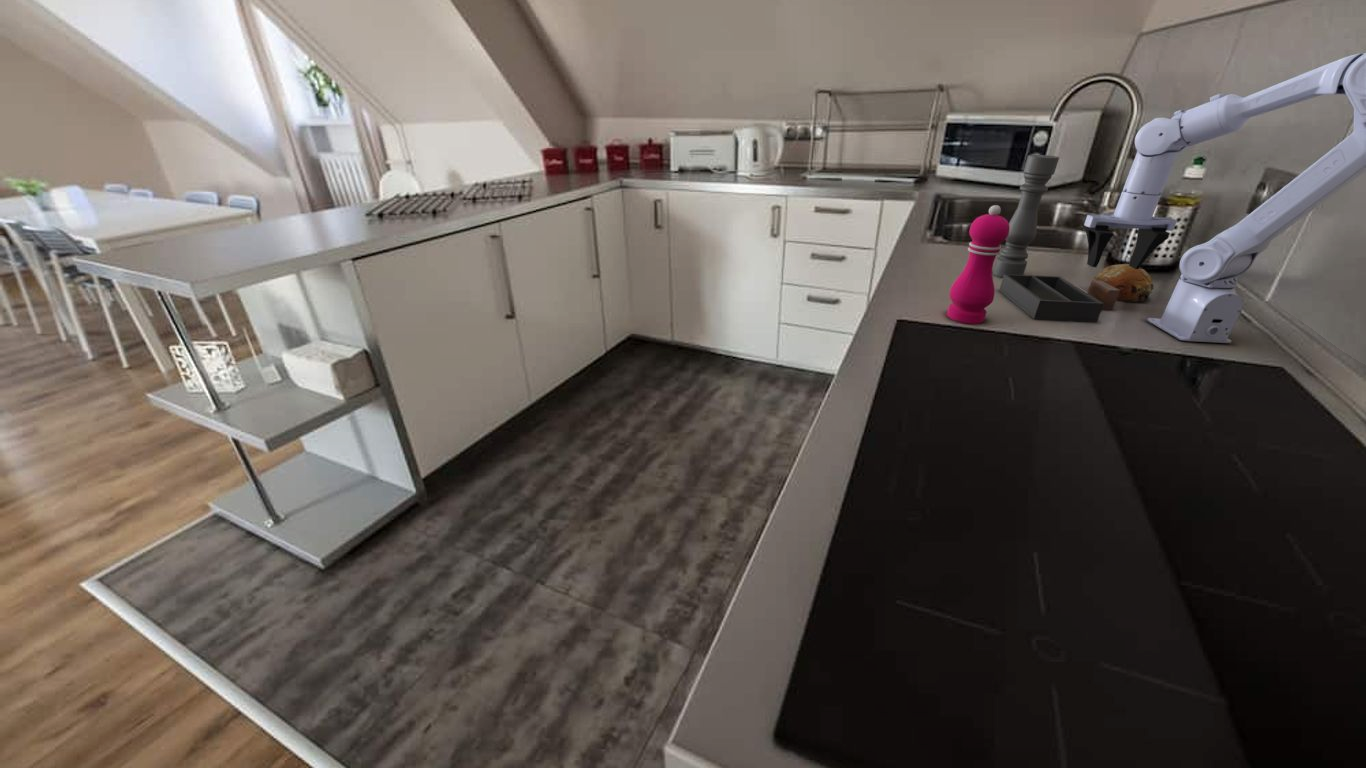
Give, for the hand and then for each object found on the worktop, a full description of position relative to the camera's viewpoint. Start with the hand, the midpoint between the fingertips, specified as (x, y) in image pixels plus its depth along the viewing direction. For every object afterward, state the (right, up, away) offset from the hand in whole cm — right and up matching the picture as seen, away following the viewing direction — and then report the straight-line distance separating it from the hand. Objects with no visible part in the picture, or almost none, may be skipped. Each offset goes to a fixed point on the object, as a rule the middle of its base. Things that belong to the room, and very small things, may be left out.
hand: (1112, 266), depth 106 cm
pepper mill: (-30, -10, -4) cm, 32 cm away
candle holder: (-9, +2, +20) cm, 22 cm away
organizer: (-12, -7, +2) cm, 14 cm away
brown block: (0, -5, +6) cm, 8 cm away
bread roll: (+8, -4, +9) cm, 13 cm away
